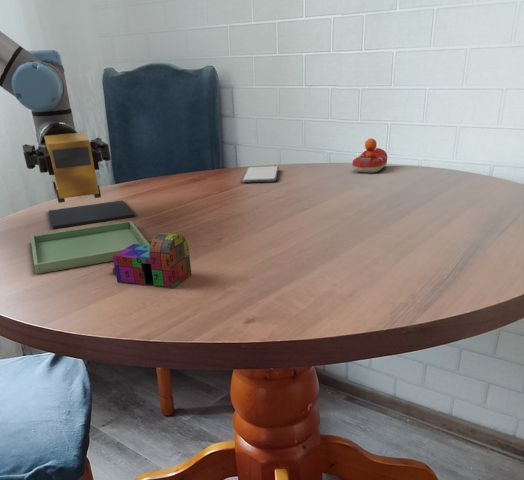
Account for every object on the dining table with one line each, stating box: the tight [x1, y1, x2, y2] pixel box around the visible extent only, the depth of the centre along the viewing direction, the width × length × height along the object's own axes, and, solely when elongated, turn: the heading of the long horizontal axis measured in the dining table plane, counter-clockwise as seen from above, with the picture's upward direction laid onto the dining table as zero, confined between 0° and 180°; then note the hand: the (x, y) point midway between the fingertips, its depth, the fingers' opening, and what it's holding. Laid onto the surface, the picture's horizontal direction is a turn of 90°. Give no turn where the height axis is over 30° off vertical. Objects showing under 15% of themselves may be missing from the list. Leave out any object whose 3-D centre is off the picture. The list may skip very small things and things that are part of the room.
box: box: [30, 220, 151, 275], centre depth 93 cm, size 18×17×2 cm
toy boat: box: [351, 138, 388, 174], centre depth 139 cm, size 8×12×8 cm, turn 155°
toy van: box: [44, 132, 102, 204], centre depth 87 cm, size 7×11×9 cm, turn 22°
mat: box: [48, 200, 135, 230], centre depth 114 cm, size 16×14×1 cm
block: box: [112, 232, 192, 289], centre depth 79 cm, size 12×8×7 cm
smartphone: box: [242, 165, 279, 183], centre depth 139 cm, size 8×1×15 cm
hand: (72, 163), depth 82 cm, fingers closed on toy van, 6 cm apart
